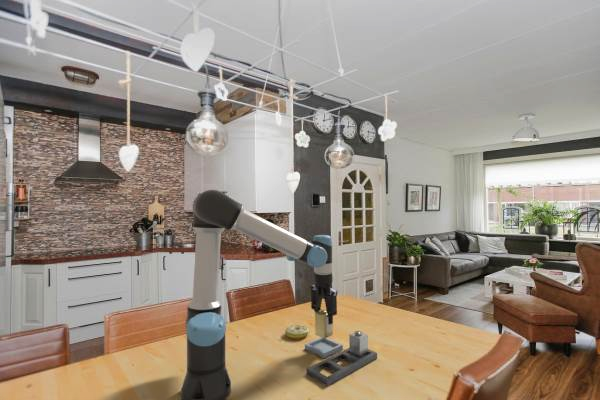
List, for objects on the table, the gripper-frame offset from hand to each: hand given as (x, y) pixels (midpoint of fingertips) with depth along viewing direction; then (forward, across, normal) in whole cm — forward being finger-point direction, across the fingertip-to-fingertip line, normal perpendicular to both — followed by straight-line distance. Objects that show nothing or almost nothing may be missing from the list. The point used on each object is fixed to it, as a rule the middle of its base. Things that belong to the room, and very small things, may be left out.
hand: (323, 329), depth 127 cm
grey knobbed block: (+8, -14, -5) cm, 17 cm away
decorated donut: (+9, +18, -1) cm, 20 cm away
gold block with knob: (+2, 0, 0) cm, 2 cm away
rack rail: (+8, -14, +4) cm, 17 cm away
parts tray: (+8, 0, 0) cm, 8 cm away
